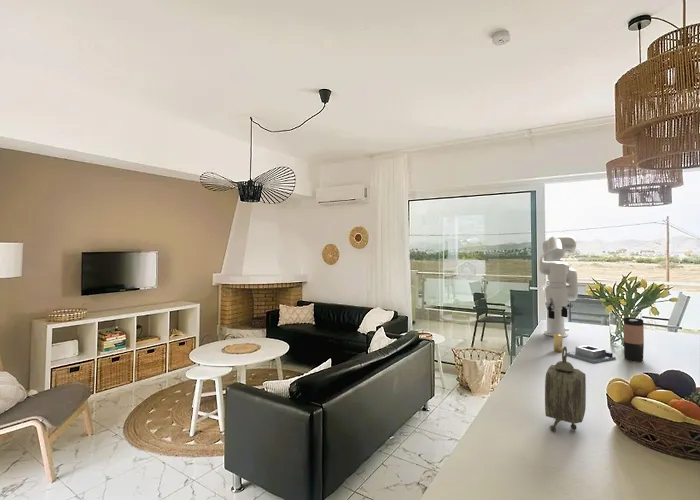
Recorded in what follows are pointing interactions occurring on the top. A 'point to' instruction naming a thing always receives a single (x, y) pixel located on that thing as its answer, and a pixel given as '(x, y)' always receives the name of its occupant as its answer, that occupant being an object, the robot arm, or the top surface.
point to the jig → (591, 354)
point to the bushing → (558, 343)
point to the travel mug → (633, 339)
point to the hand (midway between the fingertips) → (558, 317)
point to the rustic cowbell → (565, 393)
